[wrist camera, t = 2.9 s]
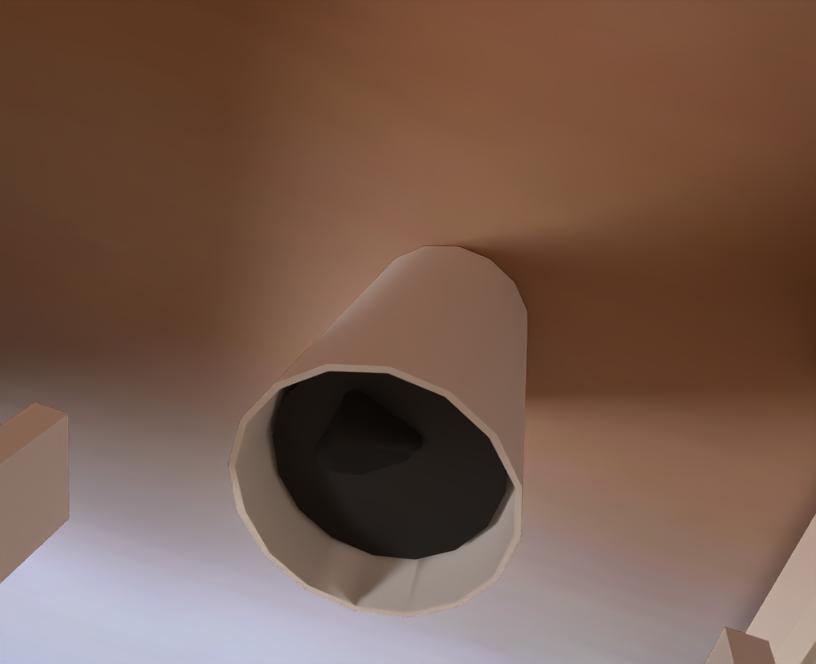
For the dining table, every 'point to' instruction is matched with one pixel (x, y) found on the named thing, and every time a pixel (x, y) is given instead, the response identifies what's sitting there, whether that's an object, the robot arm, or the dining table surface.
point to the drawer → (792, 607)
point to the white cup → (396, 442)
